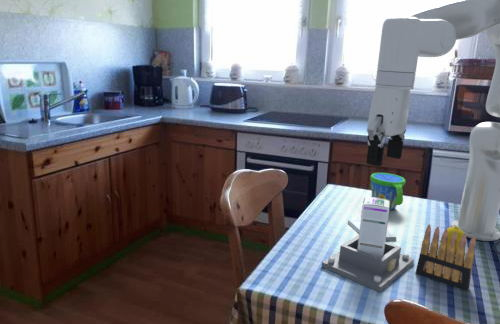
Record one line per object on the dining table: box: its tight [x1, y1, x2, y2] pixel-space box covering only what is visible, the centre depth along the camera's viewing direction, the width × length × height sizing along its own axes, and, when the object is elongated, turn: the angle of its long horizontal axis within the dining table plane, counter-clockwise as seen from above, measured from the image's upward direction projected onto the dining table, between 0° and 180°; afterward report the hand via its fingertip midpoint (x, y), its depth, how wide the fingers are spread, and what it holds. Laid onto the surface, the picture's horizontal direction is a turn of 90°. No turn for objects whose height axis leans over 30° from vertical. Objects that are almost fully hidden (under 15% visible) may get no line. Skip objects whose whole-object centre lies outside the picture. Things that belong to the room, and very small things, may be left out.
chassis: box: [321, 234, 415, 293], centre depth 95 cm, size 18×14×5 cm
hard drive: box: [347, 218, 397, 242], centre depth 115 cm, size 2×8×12 cm
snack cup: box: [369, 172, 406, 211], centre depth 133 cm, size 16×10×10 cm
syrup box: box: [357, 196, 390, 258], centre depth 93 cm, size 6×6×14 cm
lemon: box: [440, 226, 464, 256], centre depth 101 cm, size 6×6×8 cm
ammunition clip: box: [415, 223, 477, 292], centre depth 89 cm, size 11×2×12 cm, turn 53°
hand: (384, 161), depth 89 cm, fingers open, 9 cm apart
